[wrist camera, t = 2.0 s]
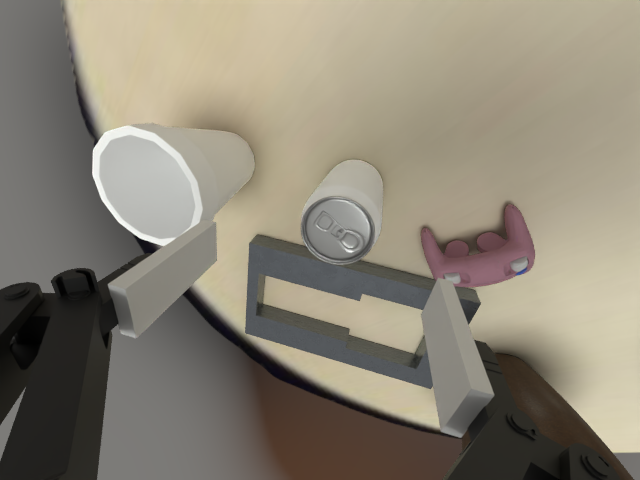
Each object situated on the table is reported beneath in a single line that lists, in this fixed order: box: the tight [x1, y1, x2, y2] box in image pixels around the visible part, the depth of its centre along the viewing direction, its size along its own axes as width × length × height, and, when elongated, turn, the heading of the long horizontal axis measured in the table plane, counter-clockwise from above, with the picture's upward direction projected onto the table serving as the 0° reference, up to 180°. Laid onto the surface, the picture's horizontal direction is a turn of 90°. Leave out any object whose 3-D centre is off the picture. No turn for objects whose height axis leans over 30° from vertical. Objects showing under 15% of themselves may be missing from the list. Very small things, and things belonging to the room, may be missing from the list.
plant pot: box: [462, 354, 634, 480], centre depth 31 cm, size 15×15×16 cm
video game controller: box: [421, 204, 535, 287], centre depth 29 cm, size 10×5×7 cm, turn 114°
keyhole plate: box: [245, 235, 481, 389], centre depth 38 cm, size 28×16×2 cm, turn 80°
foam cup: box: [92, 123, 255, 246], centre depth 27 cm, size 10×9×13 cm
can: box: [301, 160, 383, 265], centre depth 26 cm, size 6×6×12 cm
